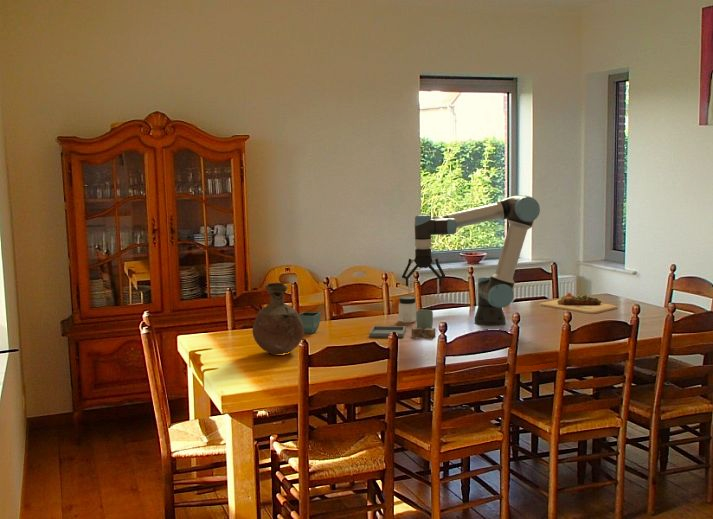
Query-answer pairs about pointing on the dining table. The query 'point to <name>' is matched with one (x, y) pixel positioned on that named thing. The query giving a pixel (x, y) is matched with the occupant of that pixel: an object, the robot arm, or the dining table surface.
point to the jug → (277, 323)
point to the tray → (386, 331)
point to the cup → (424, 319)
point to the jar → (407, 309)
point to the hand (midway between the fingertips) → (423, 293)
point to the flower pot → (310, 321)
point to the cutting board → (579, 304)
